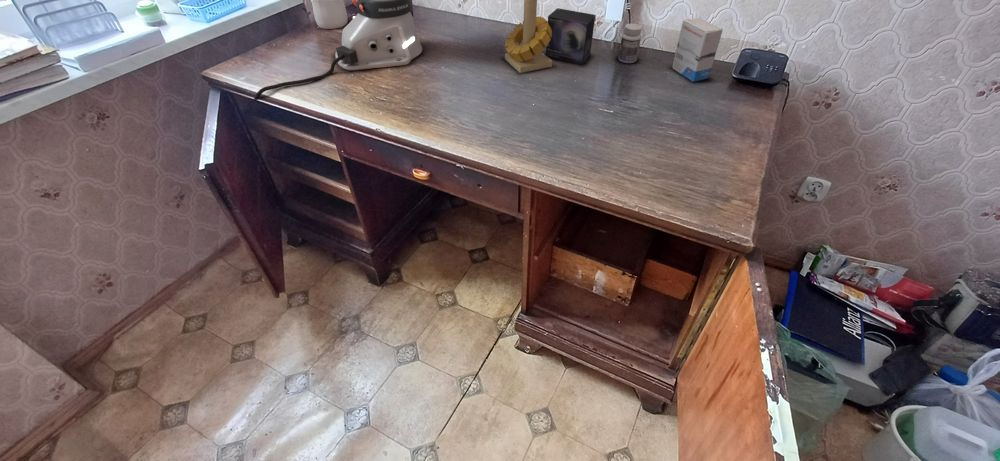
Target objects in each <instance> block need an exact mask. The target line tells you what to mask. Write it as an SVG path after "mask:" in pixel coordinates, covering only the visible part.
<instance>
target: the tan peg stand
mask: <svg viewBox="0 0 1000 461" xmlns="http://www.w3.org/2000/svg"><path fill="white" fill-rule="evenodd" d="M537 9H538V0H523V21H524V23H523V22H522V24H523V40H522V45H524V44H527V43H529V42H530V41H531V40H532V39H533V38H534V37H535V35H536V34H537V32H536V17H537ZM504 60H505V61H506V62H507V63H509V65H510V66H512V67H513V68H514V69H515V70H516V71H517V72H518V73H519V74H522V73H528V72H532V71H538V70H541V69H547V68H552V67H553V60H552V58H550V57H547V56H546V54H545V53H543V51H542V52H540V53H539V54H538V55H537V56H536V55H535V54H534V57H533V58H531V59H528V60H526V61H525V60H523V61H516V60H514V59H513V58H512V57H511V56H510V54H509V53H508V52H507V53H506V52H505V53H504Z"/></svg>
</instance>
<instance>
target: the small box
mask: <svg viewBox="0 0 1000 461" xmlns="http://www.w3.org/2000/svg"><path fill="white" fill-rule="evenodd" d="M596 18H597V15H596V14H592V13H588V12H582V11H575V10H570V9H565V8H559V7H558V8H555V9H554V10H553V11H552V12H551V13H550V14H549V15H547V22H548V24H549V26H550V27H551V30H552V37H551V38H550V39H551V40H550V42H549V43H548V45H547V47H545V55H546V56H547V57H548V58H550V59H556V60H559V61H564V62H570V63H572V64H573V63H574V64H577V65H584V64H585V63H586V62H587V61H588V59H589V58H590V57H591V55H592V54H591V52H592V44H593V37H594V28H595V22H596Z"/></svg>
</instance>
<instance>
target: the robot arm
mask: <svg viewBox="0 0 1000 461" xmlns="http://www.w3.org/2000/svg"><path fill="white" fill-rule="evenodd" d="M351 2H352V4H353V5H354V6H356V9H357V14H356V15H355V16H352V20H350V22H349V23H347V24H346V25H345V26H344V28H343V30H342V32H341V46H338V47H336V48H335V53H334V56H335V59H334V60H333V61H332V62H331V63H330V69H329V70H328V71H327V72H325V73H324V74H321V75H317V76H311V77H307V78H303V79H297V80H290V81H284V82H279V83H276V84H272V85H267V86H264V87H261V88H259V90H258V91H257V92H256V94H255V95H254V98H253V101H258V100H259V98H260V97H261V96H262V94H264V93H265V92H267V91H270V90H271V91H272V90H276V89H279V88H282V87H283V88H284V87H287V86H295V85H303V84H307V83H310V82H314V81H319V80H322V79H325V78H327V77H329V76H330V75H332V74H333V72H334V71H335V67H336V65H337V64H338V65H339V67H341V68H342V69H344V70H347V71H360V70H369V69H379V68H387V67H399V66H406V65H408V64H410V63H411V61H412V60H413V59H415V58H417V57H418V56H420V54H421V53H422V52H423V47H422V44H421V42H420V38H419V36H418V33H417V30H416V25H415V21H414V4H413V3H414V2H413V0H351Z"/></svg>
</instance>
